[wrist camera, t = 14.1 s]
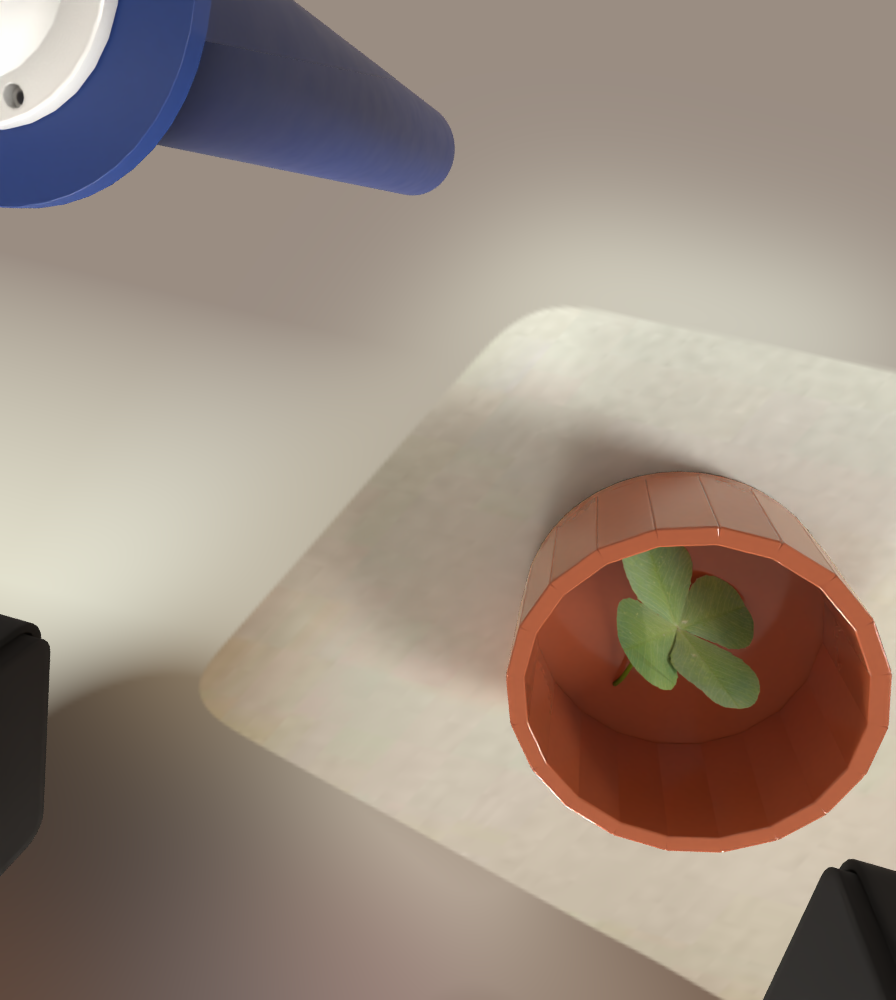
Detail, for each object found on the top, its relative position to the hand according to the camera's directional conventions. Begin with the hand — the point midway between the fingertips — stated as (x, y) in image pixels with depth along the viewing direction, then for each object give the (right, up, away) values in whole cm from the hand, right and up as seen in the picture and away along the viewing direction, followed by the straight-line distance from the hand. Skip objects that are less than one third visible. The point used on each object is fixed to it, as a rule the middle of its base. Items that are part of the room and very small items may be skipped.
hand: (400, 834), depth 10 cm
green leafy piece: (+9, 0, +26) cm, 28 cm away
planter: (+11, -1, +27) cm, 29 cm away
